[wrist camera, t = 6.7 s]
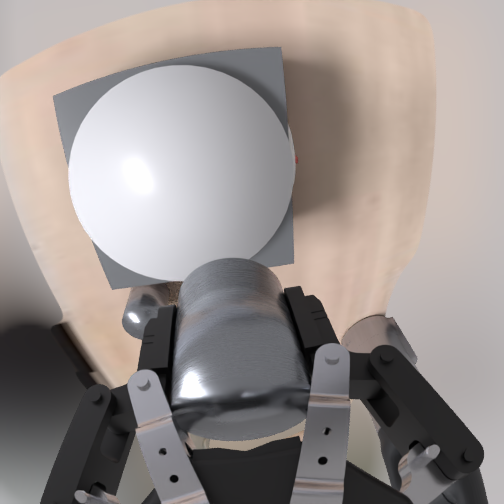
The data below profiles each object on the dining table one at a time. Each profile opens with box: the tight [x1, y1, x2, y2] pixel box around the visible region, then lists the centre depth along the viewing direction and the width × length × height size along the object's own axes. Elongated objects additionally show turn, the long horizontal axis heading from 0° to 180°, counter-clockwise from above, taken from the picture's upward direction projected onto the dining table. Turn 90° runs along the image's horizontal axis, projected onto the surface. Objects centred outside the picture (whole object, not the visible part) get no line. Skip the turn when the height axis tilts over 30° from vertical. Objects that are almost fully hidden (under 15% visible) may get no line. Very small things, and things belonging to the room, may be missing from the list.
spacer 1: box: [122, 283, 169, 340], centre depth 33 cm, size 5×5×6 cm
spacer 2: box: [170, 258, 312, 441], centre depth 11 cm, size 5×5×6 cm
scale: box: [53, 47, 298, 290], centre depth 24 cm, size 18×18×9 cm
